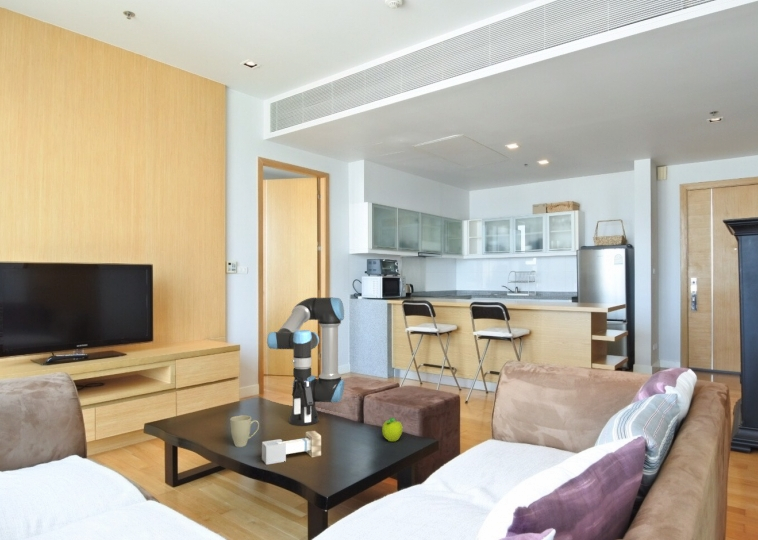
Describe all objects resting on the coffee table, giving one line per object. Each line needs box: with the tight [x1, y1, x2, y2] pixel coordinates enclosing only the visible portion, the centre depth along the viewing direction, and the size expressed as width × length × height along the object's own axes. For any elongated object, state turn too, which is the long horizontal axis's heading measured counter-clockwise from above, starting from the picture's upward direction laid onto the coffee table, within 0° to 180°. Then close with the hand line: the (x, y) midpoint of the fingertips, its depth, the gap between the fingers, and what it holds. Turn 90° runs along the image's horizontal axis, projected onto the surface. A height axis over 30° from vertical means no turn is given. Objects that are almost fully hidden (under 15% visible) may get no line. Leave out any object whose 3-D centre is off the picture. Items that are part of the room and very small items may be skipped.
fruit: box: [381, 417, 404, 442], centre depth 224 cm, size 9×9×10 cm
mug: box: [229, 414, 260, 448], centre depth 218 cm, size 11×10×12 cm
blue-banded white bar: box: [277, 437, 311, 455], centre depth 203 cm, size 15×4×4 cm, turn 118°
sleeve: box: [261, 438, 287, 465], centre depth 199 cm, size 8×7×7 cm
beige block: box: [305, 430, 322, 458], centre depth 207 cm, size 4×8×8 cm, turn 28°
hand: (302, 417), depth 205 cm, fingers open, 13 cm apart
